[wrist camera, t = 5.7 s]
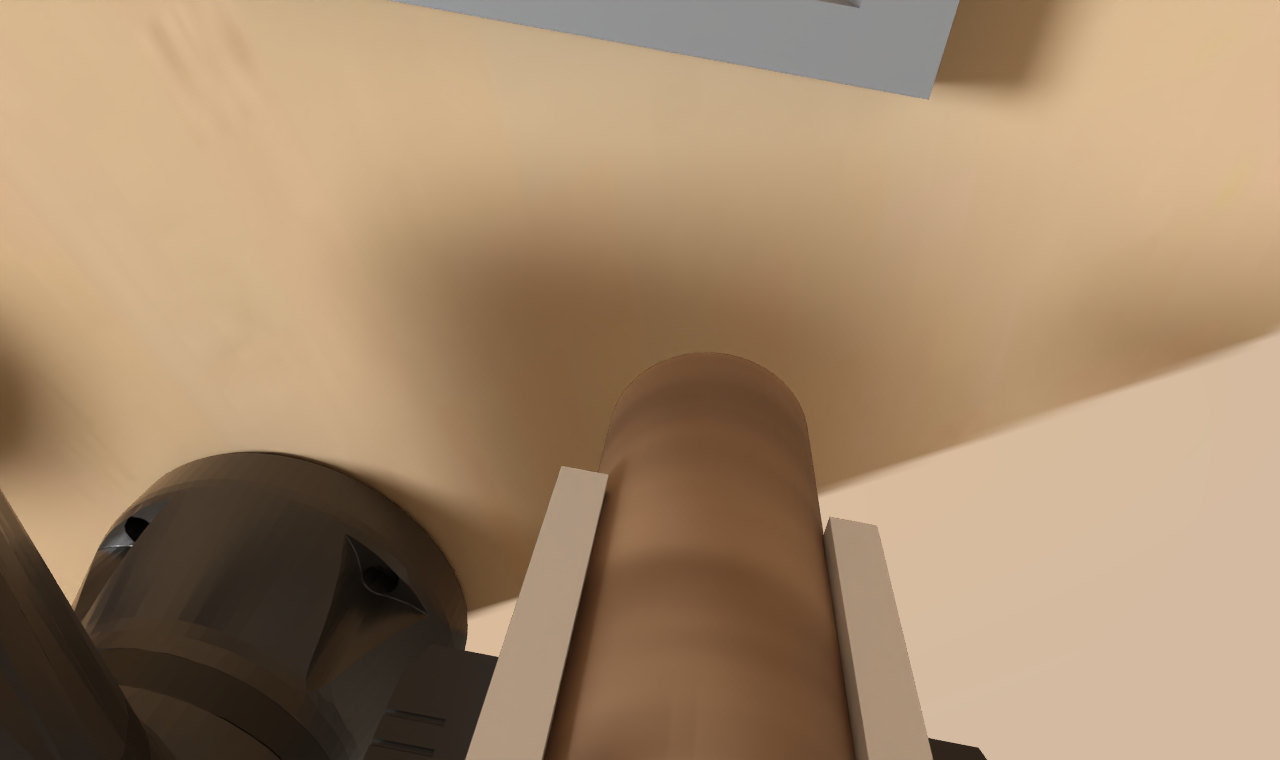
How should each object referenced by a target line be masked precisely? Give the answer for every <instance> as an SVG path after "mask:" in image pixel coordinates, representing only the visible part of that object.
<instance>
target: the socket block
mask: <svg viewBox="0 0 1280 760" xmlns="http://www.w3.org/2000/svg"><path fill="white" fill-rule="evenodd" d="M390 1H395V2H401V3H406V4H412V5H417V6H423V7H428V8H433V9H439V10H444V11H450V12H455V13H461V14H466V15H471V16H477V17H482V18H488V19H493V20H499V21H504V22H509V23H515V24H520V25H526V26H531V27H537V28H542V29H547V30H553V31H558V32H564V33H569V34H575V35H580V36H586V37H591V38H596V39H602V40H607V41H613V42H618V43H624V44H629V45H634V46H640V47H645V48H651V49H656V50H662V51H667V52H672V53H678V54H683V55H689V56H694V57H700V58H705V59H710V60H716V61H721V62H727V63H732V64H738V65H743V66H748V67H754V68H759V69H765V70H770V71H776V72H781V73H786V74H792V75H797V76H803V77H808V78H814V79H819V80H825V81H830V82H835V83H841V84H846V85H852V86H857V87H863V88H868V89H873V90H879V91H884V92H890V93H895V94H901V95H906V96H911V97H917V98H922V99H928V100H929V97H930V94H931V91H932V87H933V84H934V81H935V78H936V75H937V71H938V68H939V65H940V62H941V59H942V55H943V52H944V49H945V46H946V43H947V39H948V36H949V33H950V30H951V27H952V24H953V20H954V17H955V14H956V11H957V8H958V4H959V1H960V0H390Z"/></svg>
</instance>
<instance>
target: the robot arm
mask: <svg viewBox="0 0 1280 760" xmlns="http://www.w3.org/2000/svg"><path fill="white" fill-rule="evenodd" d="M607 480H608V474H603V473H597V472H592V471H587V470H582V469H576V468H571V467H566V466H561V469H560V472H559V475H558V478H557V481H556V484H555V487H554V490H553V493H552V496H551V499H550V502H549V505H548V509H547V512H546V515H545V518H544V521H543V524H542V527H541V530H540V533H539V536H538V539H537V542H536V545H535V548H534V551H533V554H532V557H531V560H530V564H529V567H528V570H527V573H526V576H525V579H524V582H523V585H522V588H521V591H520V594H519V597H518V600H517V603H516V606H515V609H514V612H513V615H512V619H511V622H510V625H509V628H508V631H507V634H506V637H505V640H504V643H503V646H502V649H501V652H500V655H499V657H495V656H490V655H485V654H479V653H474V652H469V651H464V650H465V645H466V640H467V626H468V624H467V613H466V606H465V602H464V598H463V594H462V591H461V589H460V586H459V583H458V581H457V579H456V576H455V574H454V572H453V570H452V569H451V567H450V565H449V563H448V562H447V560H446V558H445V557H444V555H443V554H442V552H441V551H440V550H439V548H438V547H437V546H436V544H435V543H434V542H433V540H432V539H431V538H430V537H429V536H428V535H427V533H426V532H425V531H424V530H423V529H422V528H421V527H420V526H419V525H418V524H417V523H416V522H415V521H414V520H413V519H412V518H410V517H409V516H408V515H407V514H406V513H405V512H404V511H402V510H401V509H400V508H399V507H397V506H396V505H395V504H393V503H392V502H391V501H389V500H388V499H386V498H385V497H384V496H382V495H381V494H379V493H377V492H376V491H374V490H373V489H371V488H369V487H367V486H366V485H364V484H362V483H360V482H358V481H356V480H354V479H352V478H350V477H348V476H346V475H344V474H342V473H339V472H337V471H334V470H332V469H329V468H326V467H324V466H321V465H318V464H315V463H311V462H308V461H304V460H300V459H296V458H291V457H286V456H280V455H273V454H263V453H232V454H222V455H216V456H211V457H206V458H202V459H199V460H196V461H193V462H190V463H187V464H185V465H183V466H180V467H178V468H176V469H174V470H173V471H171V472H169V473H168V474H166V475H165V476H163V477H162V478H160V479H159V480H158V481H157V482H156V483H154V484H153V485H152V486H151V487H150V488H149V489H148V490H147V491H146V492H145V493H144V494H143V495H142V496H140V497H139V498H138V499H137V500H136V501H135V502H134V503H133V504H132V505H131V506H130V507H129V508H128V509H127V510H126V511H125V512H123V513H122V515H121V516H120V517H119V518H118V519H117V520H116V521H115V523H114V524H113V525H112V527H111V528H110V529H109V531H108V532H107V534H106V535H105V537H104V539H103V541H102V542H101V544H100V546H99V548H98V550H97V552H96V555H95V557H94V559H93V561H92V563H91V565H90V567H89V570H88V572H87V574H86V576H85V578H84V580H83V583H82V585H81V587H80V589H79V591H78V593H77V595H76V598H75V600H74V602H73V604H72V606H71V605H70V604H69V602H68V600H67V599H66V597H65V595H64V594H63V592H62V590H61V589H60V587H59V585H58V584H57V582H56V580H55V579H54V577H53V575H52V574H51V572H50V570H49V569H48V567H47V565H46V564H45V562H44V560H43V559H42V557H41V555H40V554H39V552H38V550H37V549H36V547H35V545H34V544H33V542H32V540H31V539H30V537H29V536H28V534H27V532H26V531H25V529H24V527H23V526H22V524H21V522H20V521H19V519H18V517H17V516H16V514H15V512H14V511H13V509H12V507H11V506H10V504H9V502H8V501H7V499H6V497H5V496H4V494H3V492H2V491H1V489H0V760H544V755H545V751H546V747H547V742H548V738H549V734H550V729H551V725H552V721H553V716H554V712H555V708H556V703H557V699H558V695H559V691H560V686H561V682H562V678H563V673H564V669H565V665H566V660H567V656H568V652H569V647H570V643H571V639H572V635H573V630H574V626H575V622H576V617H577V613H578V609H579V604H580V600H581V596H582V591H583V587H584V583H585V578H586V574H587V570H588V566H589V561H590V557H591V553H592V548H593V544H594V540H595V535H596V531H597V527H598V522H599V518H600V514H601V509H602V505H603V501H604V497H605V492H606V486H607ZM823 541H824V548H825V555H826V561H827V568H828V575H829V582H830V589H831V595H832V602H833V609H834V616H835V622H836V629H837V636H838V643H839V650H840V656H841V663H842V670H843V677H844V684H845V690H846V697H847V704H848V711H849V717H850V724H851V731H852V738H853V745H854V751H855V758H856V760H987V759H986V758H985V756H984V755H983V754H982V752H981V751H980V749H979V748H977V747H972V746H966V745H961V744H956V743H951V742H946V741H941V740H935V739H930V738H928V737H927V733H926V728H925V725H924V720H923V716H922V711H921V707H920V703H919V699H918V695H917V691H916V686H915V682H914V678H913V674H912V670H911V665H910V661H909V657H908V653H907V649H906V645H905V640H904V636H903V633H902V628H901V624H900V619H899V616H898V612H897V607H896V603H895V599H894V594H893V590H892V586H891V582H890V578H889V574H888V570H887V565H886V561H885V557H884V552H883V549H882V545H881V540H880V536H879V532H878V527H877V526H875V525H870V524H865V523H860V522H855V521H849V520H844V519H839V518H834V517H830V518H829V520H828V523H827V526H826V529H825V532H824V535H823Z"/></svg>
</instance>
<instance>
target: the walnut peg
mask: <svg viewBox="0 0 1280 760" xmlns="http://www.w3.org/2000/svg"><path fill="white" fill-rule="evenodd" d="M598 473H603V474H608V480H607V486H606V492H605V497H604V501H603V505H602V509H601V514H600V518H599V522H598V527H597V531H596V535H595V540H594V544H593V548H592V553H591V557H590V561H589V566H588V570H587V574H586V578H585V583H584V587H583V591H582V596H581V600H580V604H579V609H578V613H577V617H576V622H575V626H574V630H573V635H572V639H571V643H570V647H569V652H568V656H567V660H566V665H565V669H564V673H563V678H562V682H561V686H560V691H559V695H558V699H557V703H556V708H555V712H554V716H553V721H552V725H551V729H550V734H549V738H548V742H547V747H546V751H545V755H544V760H856V758H855V751H854V745H853V738H852V731H851V724H850V717H849V711H848V704H847V697H846V690H845V684H844V677H843V670H842V663H841V656H840V650H839V643H838V636H837V629H836V622H835V616H834V609H833V602H832V595H831V589H830V582H829V575H828V568H827V561H826V555H825V548H824V541H823V528H822V522H821V515H820V508H819V502H818V495H817V488H816V482H815V475H814V468H813V462H812V455H811V448H810V442H809V435H808V428H807V423H806V420H805V416H804V413H803V411H802V409H801V406H800V404H799V402H798V401H797V399H796V398H795V396H794V394H793V393H792V392H791V391H790V389H789V388H788V387H787V386H786V385H785V384H784V383H783V382H782V381H781V380H780V379H779V378H778V377H777V376H775V375H774V374H773V373H771V372H770V371H768V370H767V369H765V368H763V367H762V366H760V365H758V364H756V363H754V362H751V361H749V360H746V359H743V358H740V357H736V356H732V355H728V354H721V353H693V354H685V355H681V356H677V357H673V358H670V359H668V360H665V361H662V362H660V363H658V364H656V365H654V366H652V367H651V368H649V369H647V370H646V371H645V372H643V373H642V374H640V375H639V376H638V377H637V378H636V379H635V380H634V381H633V382H631V383H630V385H629V386H628V387H627V388H626V390H625V391H624V392H623V393H622V395H621V397H620V398H619V400H618V402H617V404H616V406H615V409H614V411H613V414H612V418H611V422H610V426H609V430H608V434H607V438H606V442H605V446H604V450H603V454H602V458H601V462H600V466H599V470H598Z"/></svg>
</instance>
